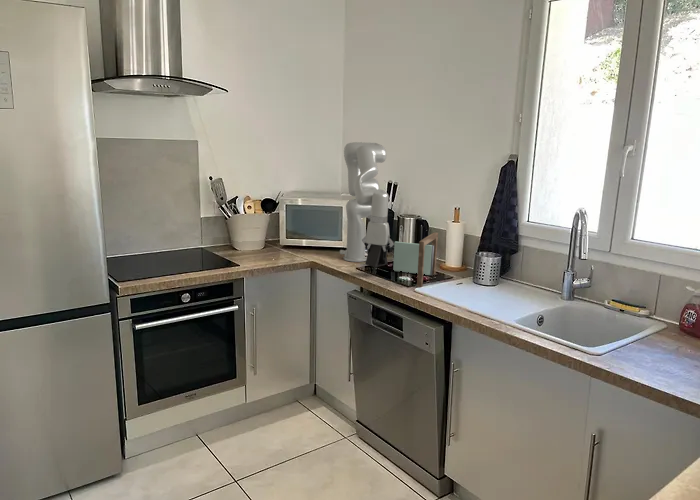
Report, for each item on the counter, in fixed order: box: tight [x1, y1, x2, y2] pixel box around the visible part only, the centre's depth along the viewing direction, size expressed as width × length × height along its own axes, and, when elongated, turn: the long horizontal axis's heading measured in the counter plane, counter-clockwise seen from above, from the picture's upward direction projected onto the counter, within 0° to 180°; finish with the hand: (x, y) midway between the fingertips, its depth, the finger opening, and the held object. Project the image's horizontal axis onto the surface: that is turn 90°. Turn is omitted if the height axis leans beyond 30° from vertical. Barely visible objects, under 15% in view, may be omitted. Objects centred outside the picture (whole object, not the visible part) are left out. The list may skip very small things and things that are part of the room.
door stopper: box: [365, 244, 388, 268], centre depth 243 cm, size 9×6×12 cm, turn 136°
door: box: [392, 241, 434, 276], centre depth 251 cm, size 19×2×14 cm, turn 67°
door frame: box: [416, 231, 439, 288], centre depth 239 cm, size 2×26×20 cm, turn 157°
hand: (376, 257), depth 244 cm, fingers closed on door stopper, 6 cm apart
